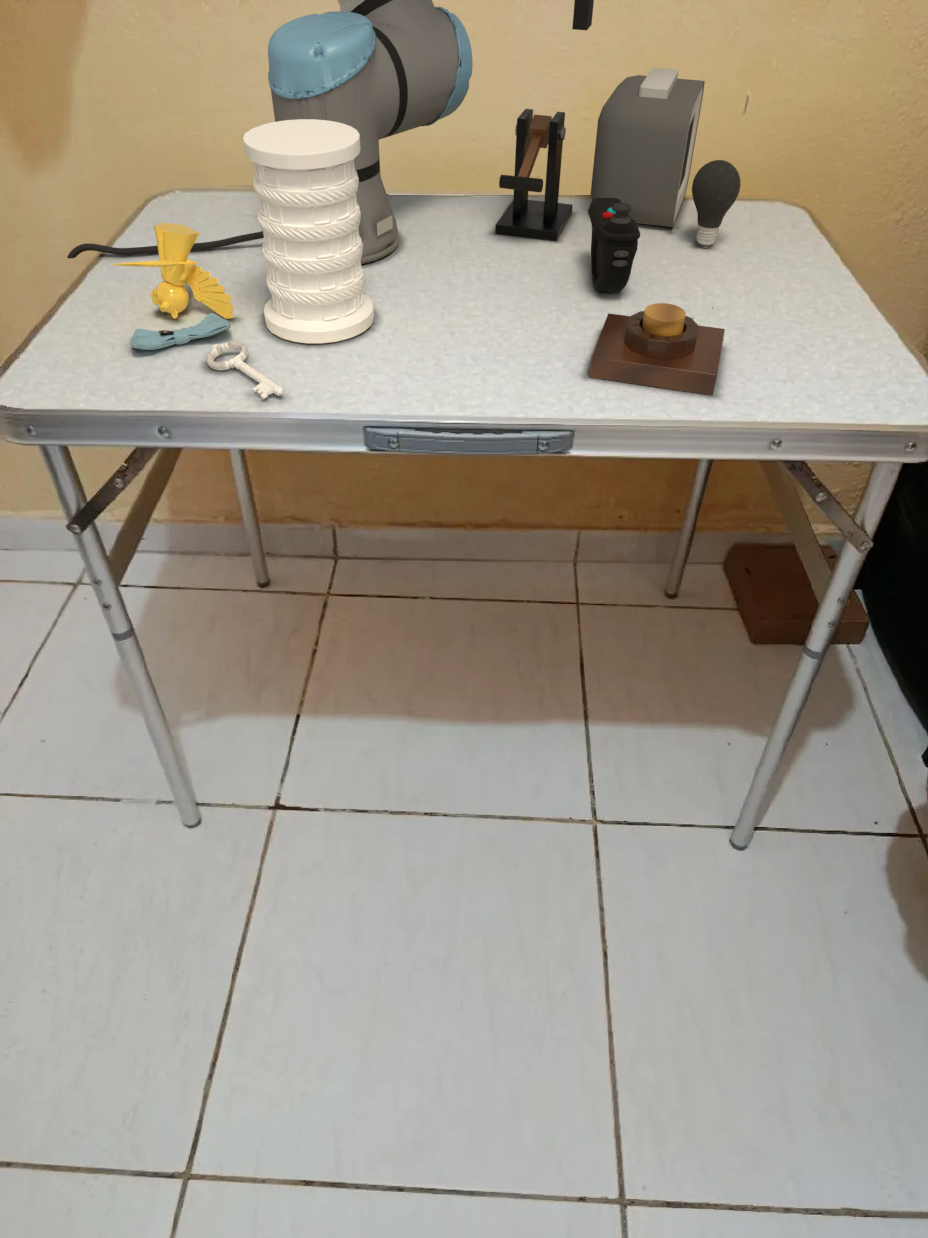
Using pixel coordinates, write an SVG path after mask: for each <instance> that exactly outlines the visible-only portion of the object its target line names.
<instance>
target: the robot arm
mask: <svg viewBox="0 0 928 1238" xmlns="http://www.w3.org/2000/svg"><path fill="white" fill-rule="evenodd" d="M337 3H338V5H339V11H326V12H323V13H321V14H318V13H311V14H306V15H303V16H301V17H296V18H294V19H291V20H289V21H287V22H285V23H283V24H282V25H280V26H279V27H278V28H276V29H275V30H274V31H273V33H272V35H271V36H270V38H269V40H268V46H267V60H268V73H267V76H268V77H267V80H268V84H269V88H270V94H271V101H272V109H273V117H274V122H277V121H284V120H297V119H317V120H328V121H334V122H339V123H343V124H346V125H349V126H351V127H353V128H354V129H356V130H357V131H358V133H359V134H360V148H361V149H360V153H359V154H358V155H357V156H356V157H355V158H354V167H355V170H356V172H357V176H358V178H359V184H358V190H357V192H356V198H357V203H358V205H359V208H360V211H361V218H360V225H359V226H358V228H359V236H360V237H361V240H362V244H363V246H362V247H363V250H362V257H361V265H363V264H368V263H371V262H374V261H378V260H380V259H382V258H384V257H386V256H389V254H391V253H392V252H394V250H395V249H397V247H398V244H399V229H398V224H397V220H396V216H395V213H394V211H393V208H392V205H391V203H390V199H389V197H388V194H387V191H386V188H385V186H384V183H383V179H382V176H381V162H380V161H381V160H380V140H382V139H386V138H388V137H391V136H395V135H398V134H402V133H405V132H407V131H410V130H414V129H416V128H417V129H418V128H420V127H429V126H431V125H433V124H435V123H436V122H438V121H439V120H442V119H444V118H446V117H449V116H450V115H452V114H453V113H454V112H456V111H457V110H458V108H459V107H460V106H461V105H462V103H463V102H464V100H465V98H466V96H467V94H468V91H469V89H470V79H471V78H472V76H473V75H472V74H473V51H472V45H471V41H470V37H469V34H468V32H467V30H466V28H465V26H464V24H463V22H462V21H461V19H460V18H459V17H458V16H457V15H456V14H455V13H453V12H450V11H449V10H448V8H444V6H443V7H442V6H435V4H434V2H433V0H337ZM594 3H595V1H594V0H574V4H573V15H572V28H571V29H572V30H574V31H575V30H577V31H588V30H589V29H590V28H591V26H592V24H593V13H594V5H595V4H594ZM261 239H264V235H263V230H261V231H257V232H251V233H246V234H245V233H244V234H240V235H235V236H232V237H228V238H223V239H218V240H212V241H204V242H195V243H194V245H193V246H192V248H191V250H190V251H202V250H203V251H204V250H210V249H212V250H213V249H216V248H217V249H219V248H224V247H228V246H232V245H237V244H241V243H245V242H250V241H251V242H252V241H256V240H261ZM88 251H90V252H91V251H92V252H99V253H104V254H108V255H109V254H110V255H117V256H133V255H147V254H157V253H158V254H159V252H158V245H148V246H135V247H134V246H133V247H113V246H108V245H103V244H98V243H90V242H89V243H81V244H79V245H77V246H75V247H74V248H72V250H70V251H69V253H68V254H67V256H66V258H67V259H76V258H77V256H79V255H81V253H84V252H88Z"/></svg>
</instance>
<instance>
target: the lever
mask: <svg viewBox="0 0 928 1238" xmlns="http://www.w3.org/2000/svg"><path fill="white" fill-rule="evenodd" d="M552 118H553V116H552V115H545V114H544V115H543V114H533V119H532V122H531V124H530V127H529V148H528V150H527V153H526V156H525V158H524V161H523V164H522V166H521V169H520V172H519V174H518V176H514V175H510V174H500V176H499V180H498V186H499V189H505V190H513V191H514V190H522V191H528V192H533V193H542V192H543V189H544V179H543V178H537V177H531V174H532V172H533V169H534V166H535V163H536V161H537V158H538V155H539V152H540V149H548V142H549V128H550V121H551V120H552Z"/></svg>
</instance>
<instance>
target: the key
mask: <svg viewBox="0 0 928 1238" xmlns="http://www.w3.org/2000/svg"><path fill="white" fill-rule="evenodd" d="M235 350H237V351H240V352H239V354H237V355H236V356H234V357H232V358H230V359H228V360H223V361H215V360H216V358H217V357H219V356H220V355H222V354H224V353H226V352H227V351H228V352H229V351H235ZM248 354H249V351H248V347H247V346H246V344H245V343H243V342H241V341H238V340H237V341H235V340H233V341H227V342H225V343H221V344H217V343H216V344H213V345H212V347H211V351H209V352H208V354H207V357H206V364H208V367H210V369H212V370H215V371H228V370H230V369H234V368H236V369H237V370H240V371H241V372H242V373H243V374H245V375H247V376H248V377H250V378H251V379H252V380H254V381H255V382H257V383H258V384H257V385H255V386H254V387H253V388H252V391H253V392H256V393H257V394H259V396H260V398H263V399H267V398H268V397H269V395H271V394H275V395H276V396H278V397H279V396H280V397H281V396H283V395H284V391H285V390H284V389H283V387H281V386H280V385H278V384H277V383H275V382H274V381H272V380H271V379H269V378H268V377H266V376H265V375H264V374H262V373H261V372H259V371H258V370H256V369H255V368H253V367H252V366H251V365H250V364H248V363H245V362H244V361H245V360H246V359H247V357H248V356H249V355H248Z"/></svg>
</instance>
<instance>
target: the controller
mask: <svg viewBox="0 0 928 1238" xmlns="http://www.w3.org/2000/svg"><path fill="white" fill-rule="evenodd" d="M631 210H632V207H631V205H629V204H627V203H622V202H621V201H620V199H617V198H596V199H593V200H591V202H590V204H589V206H588V209H587V214H588V216H589V220H590V224H591V240H590V273H591V278H592V279H591V280H592V283H593V286H594V287H595V289H596V290H598V291H600V292H604V293H605V292H606V293H610V292H620V291H622V290H623V289H624V288H626V287H627V285H628V282H629V281H630V277H631V273H632V268H633V265H634V260H635V257H636V253H637V251H638V245H639V240H638V239H640V238H641V232H640V229H639V226H638V223H636V221H635V220H633V219H631V218H630V216H629V215H628V213H629V212H630V211H631Z"/></svg>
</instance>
